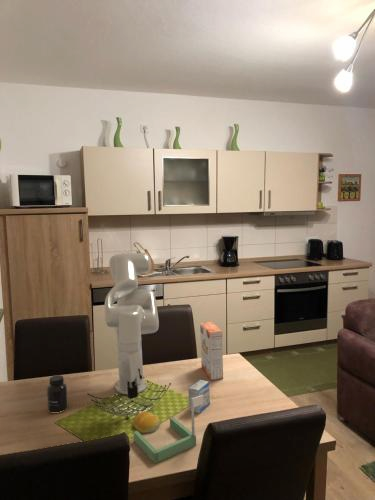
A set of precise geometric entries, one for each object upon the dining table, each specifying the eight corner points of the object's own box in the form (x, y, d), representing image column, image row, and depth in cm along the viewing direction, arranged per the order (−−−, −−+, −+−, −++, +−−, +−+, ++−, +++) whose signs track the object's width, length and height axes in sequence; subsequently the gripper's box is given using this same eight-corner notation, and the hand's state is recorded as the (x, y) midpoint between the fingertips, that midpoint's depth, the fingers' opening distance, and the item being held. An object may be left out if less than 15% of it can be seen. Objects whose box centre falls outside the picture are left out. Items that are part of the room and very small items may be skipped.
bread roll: (144, 437, 123) (144, 425, 122) (129, 425, 130) (129, 414, 129) (165, 427, 128) (165, 415, 128) (149, 416, 135) (149, 405, 134)
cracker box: (200, 367, 174) (199, 322, 171) (213, 365, 175) (212, 321, 173) (209, 381, 160) (208, 332, 158) (223, 379, 162) (222, 330, 159)
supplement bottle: (49, 416, 136) (47, 383, 135) (46, 407, 142) (44, 376, 141) (69, 410, 139) (67, 379, 138) (66, 402, 146) (64, 372, 144)
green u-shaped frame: (134, 440, 121) (132, 395, 119) (181, 421, 131) (180, 379, 129) (154, 463, 110) (153, 413, 108) (205, 440, 120) (204, 394, 118)
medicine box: (199, 414, 135) (198, 390, 134) (188, 410, 137) (188, 387, 136) (210, 404, 142) (209, 381, 141) (199, 401, 144) (199, 379, 143)
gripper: (111, 342, 138) (114, 392, 139) (130, 354, 126) (132, 408, 127) (130, 338, 142) (133, 387, 143) (150, 349, 130) (152, 401, 131)
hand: (132, 397), depth 135 cm, fingers closed
